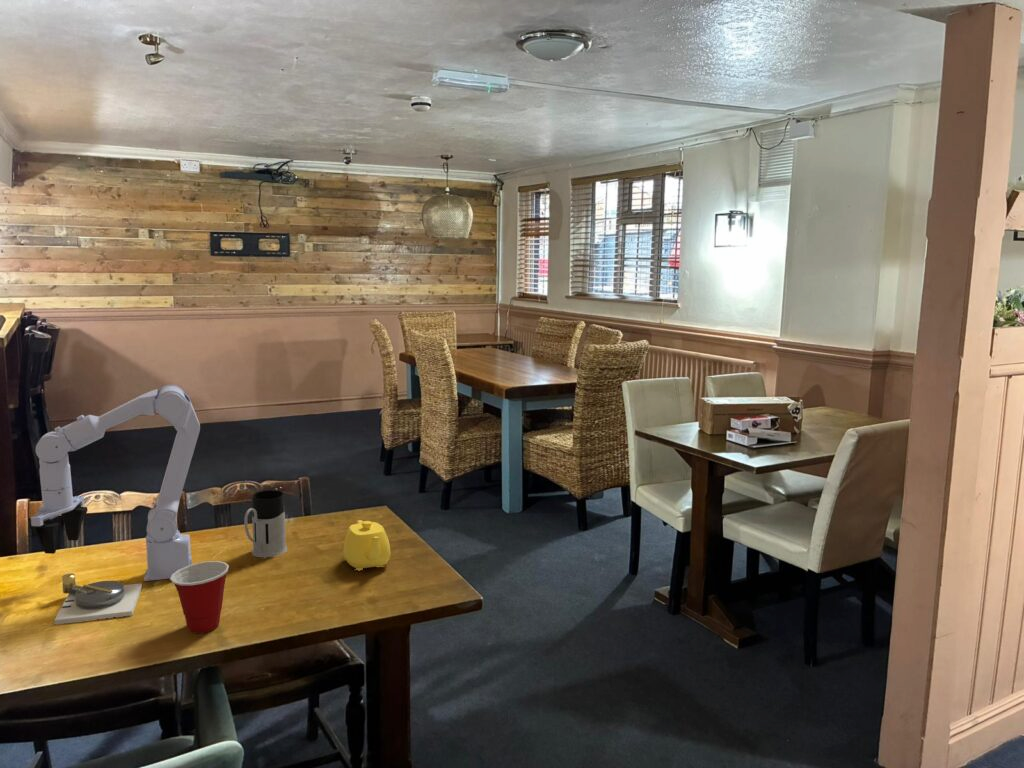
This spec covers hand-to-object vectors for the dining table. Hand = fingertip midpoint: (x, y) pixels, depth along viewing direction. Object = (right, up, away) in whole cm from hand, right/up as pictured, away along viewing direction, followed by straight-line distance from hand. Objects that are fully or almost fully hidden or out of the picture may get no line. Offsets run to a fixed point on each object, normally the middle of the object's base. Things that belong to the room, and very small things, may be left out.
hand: (62, 546), depth 164 cm
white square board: (+12, -11, -7) cm, 18 cm away
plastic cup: (+37, -13, -15) cm, 42 cm away
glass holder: (+37, -7, +22) cm, 44 cm away
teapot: (+64, -9, +17) cm, 67 cm away
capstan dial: (+10, -9, -6) cm, 15 cm away
